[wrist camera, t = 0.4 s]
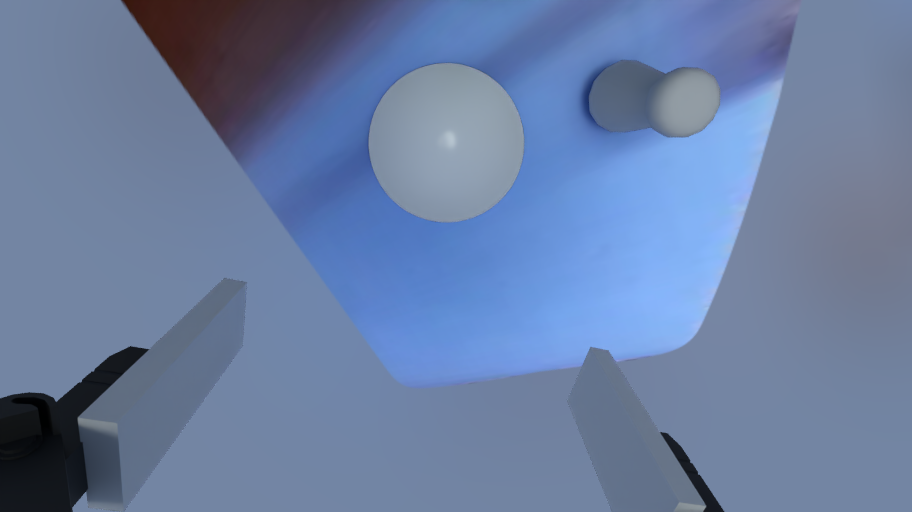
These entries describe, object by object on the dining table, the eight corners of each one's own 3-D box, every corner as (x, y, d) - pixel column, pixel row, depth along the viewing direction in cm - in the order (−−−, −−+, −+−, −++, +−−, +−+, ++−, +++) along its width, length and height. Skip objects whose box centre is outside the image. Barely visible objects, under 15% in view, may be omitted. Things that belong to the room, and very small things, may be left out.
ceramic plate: (403, 34, 36) (402, 32, 34) (548, 105, 38) (551, 105, 37) (349, 185, 40) (347, 188, 39) (482, 239, 43) (484, 243, 42)
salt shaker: (594, 53, 37) (671, 39, 25) (654, 70, 38) (757, 65, 26) (571, 121, 39) (632, 139, 27) (629, 136, 40) (712, 160, 28)
